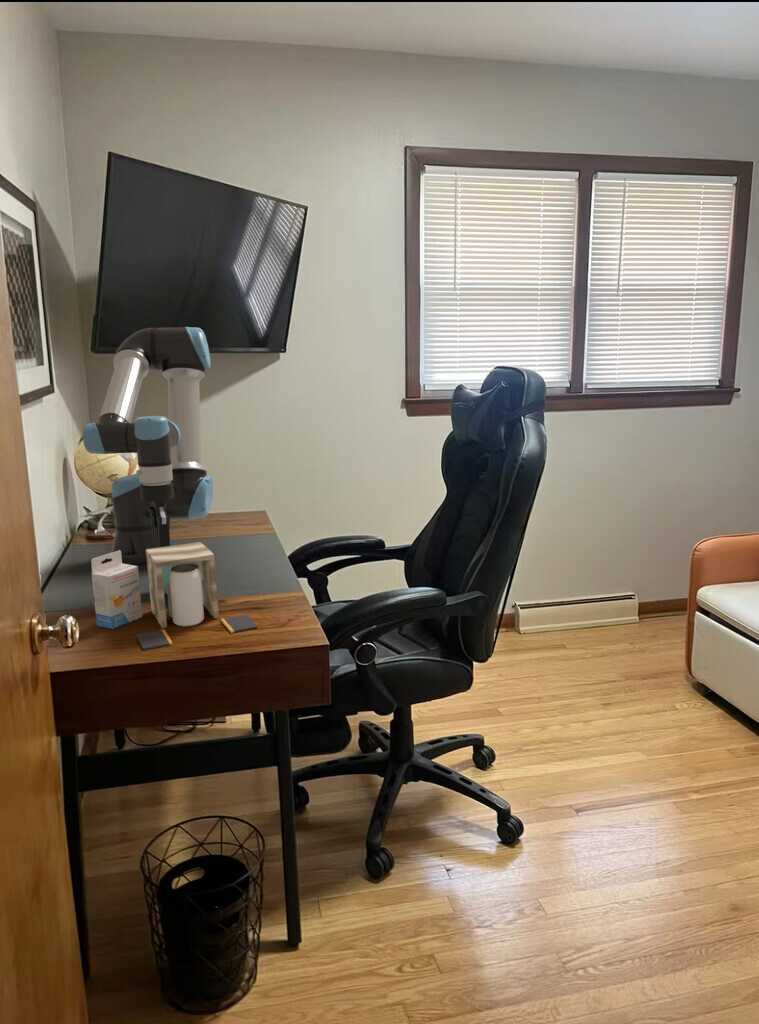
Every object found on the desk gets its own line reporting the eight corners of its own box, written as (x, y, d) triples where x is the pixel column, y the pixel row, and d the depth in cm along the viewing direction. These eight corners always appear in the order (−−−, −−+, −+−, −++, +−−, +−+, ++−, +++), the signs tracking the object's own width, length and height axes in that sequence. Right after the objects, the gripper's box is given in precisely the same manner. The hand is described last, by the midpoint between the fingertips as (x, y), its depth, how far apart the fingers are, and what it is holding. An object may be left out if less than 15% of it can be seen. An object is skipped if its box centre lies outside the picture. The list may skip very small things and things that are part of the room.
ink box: (113, 630, 156) (105, 562, 152) (96, 626, 158) (88, 559, 155) (143, 616, 163) (137, 551, 160) (127, 613, 165) (120, 549, 162)
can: (185, 613, 163) (181, 561, 160) (210, 617, 161) (206, 565, 158) (166, 624, 158) (162, 570, 154) (192, 629, 155) (188, 574, 152)
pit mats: (136, 636, 152) (136, 634, 152) (246, 616, 162) (246, 614, 162) (143, 650, 145) (143, 648, 145) (257, 628, 155) (257, 626, 155)
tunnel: (151, 610, 166) (145, 549, 163) (205, 601, 172) (200, 541, 168) (162, 628, 156) (156, 562, 153) (218, 617, 161) (214, 554, 158)
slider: (151, 593, 176) (148, 556, 174) (185, 588, 180) (182, 552, 178) (167, 618, 160) (164, 578, 158) (204, 611, 164) (201, 572, 162)
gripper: (135, 480, 179) (143, 574, 185) (144, 488, 168) (153, 588, 173) (167, 477, 183) (174, 569, 188) (178, 485, 171) (186, 583, 176)
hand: (164, 578), depth 180 cm, fingers closed
